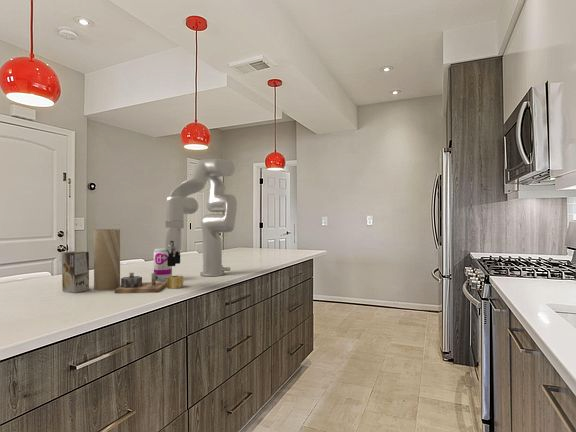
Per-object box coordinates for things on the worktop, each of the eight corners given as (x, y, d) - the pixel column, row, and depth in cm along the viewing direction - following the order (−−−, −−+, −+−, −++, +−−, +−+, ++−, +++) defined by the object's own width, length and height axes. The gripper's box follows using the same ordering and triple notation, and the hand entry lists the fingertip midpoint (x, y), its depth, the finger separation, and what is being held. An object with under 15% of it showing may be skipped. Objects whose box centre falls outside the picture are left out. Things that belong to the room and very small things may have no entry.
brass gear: (184, 285, 159) (184, 275, 159) (181, 288, 152) (181, 277, 152) (168, 285, 158) (168, 275, 158) (164, 288, 151) (164, 278, 151)
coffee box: (90, 290, 149) (89, 251, 149) (74, 293, 143) (74, 253, 143) (76, 288, 153) (76, 250, 153) (61, 291, 148) (61, 252, 148)
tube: (88, 289, 150) (88, 230, 150) (105, 285, 159) (105, 229, 159) (108, 291, 147) (108, 230, 147) (125, 286, 157) (125, 229, 157)
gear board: (166, 285, 159) (166, 269, 159) (158, 292, 145) (158, 274, 145) (126, 286, 157) (126, 270, 157) (114, 293, 143) (114, 275, 143)
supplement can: (168, 281, 168) (168, 249, 168) (151, 281, 168) (150, 249, 168) (174, 278, 176) (174, 248, 176) (157, 278, 176) (157, 248, 176)
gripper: (170, 225, 163) (169, 262, 163) (160, 225, 146) (159, 267, 145) (187, 225, 164) (186, 262, 163) (179, 225, 147) (178, 267, 146)
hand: (174, 264), depth 154 cm, fingers open, 9 cm apart
